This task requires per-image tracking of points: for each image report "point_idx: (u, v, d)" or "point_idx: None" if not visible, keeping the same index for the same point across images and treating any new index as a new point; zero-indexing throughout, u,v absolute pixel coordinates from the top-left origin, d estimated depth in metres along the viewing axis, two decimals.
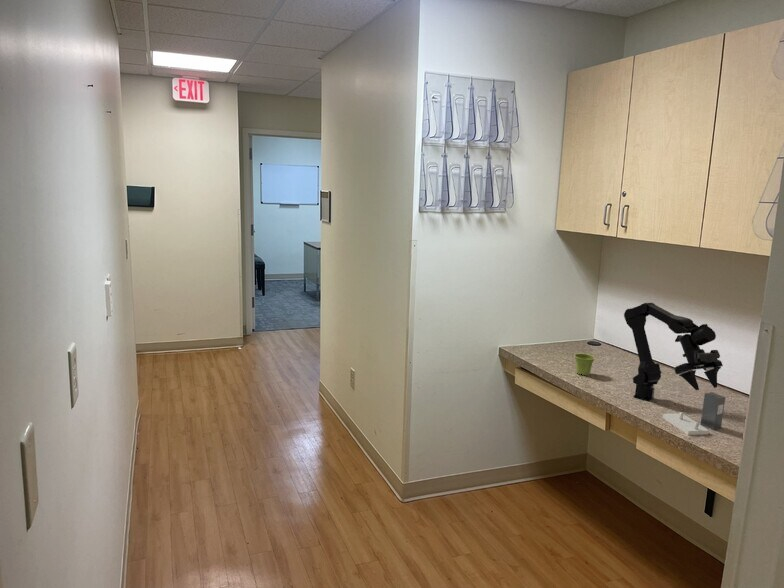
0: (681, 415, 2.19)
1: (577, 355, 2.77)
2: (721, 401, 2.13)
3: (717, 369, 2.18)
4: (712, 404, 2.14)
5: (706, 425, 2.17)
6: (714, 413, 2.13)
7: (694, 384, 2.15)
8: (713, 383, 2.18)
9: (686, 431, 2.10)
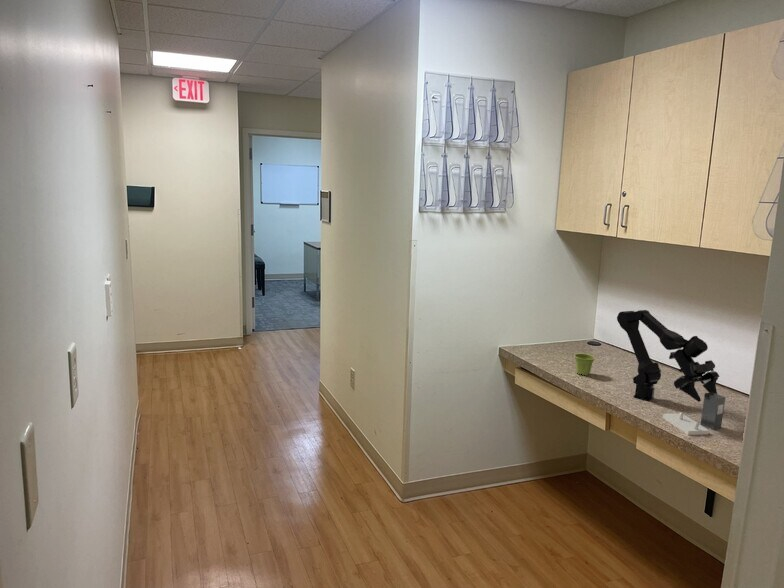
0: (681, 415, 2.19)
1: (577, 355, 2.77)
2: (721, 401, 2.13)
3: (715, 380, 2.21)
4: (712, 404, 2.14)
5: (706, 425, 2.17)
6: (714, 413, 2.13)
7: (695, 396, 2.16)
8: None
9: (686, 431, 2.10)
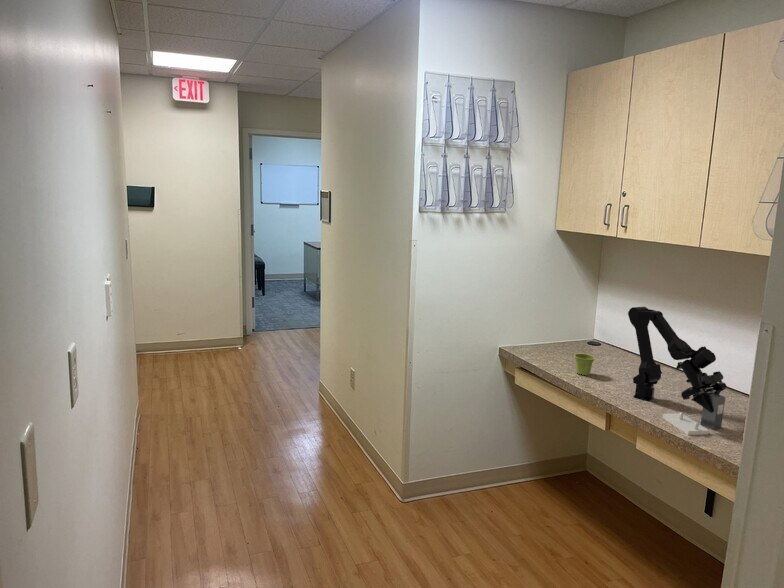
0: (681, 415, 2.19)
1: (577, 355, 2.77)
2: (721, 401, 2.13)
3: (718, 392, 2.17)
4: (713, 404, 2.14)
5: (706, 425, 2.17)
6: (714, 413, 2.13)
7: (708, 406, 2.14)
8: None
9: (686, 431, 2.10)
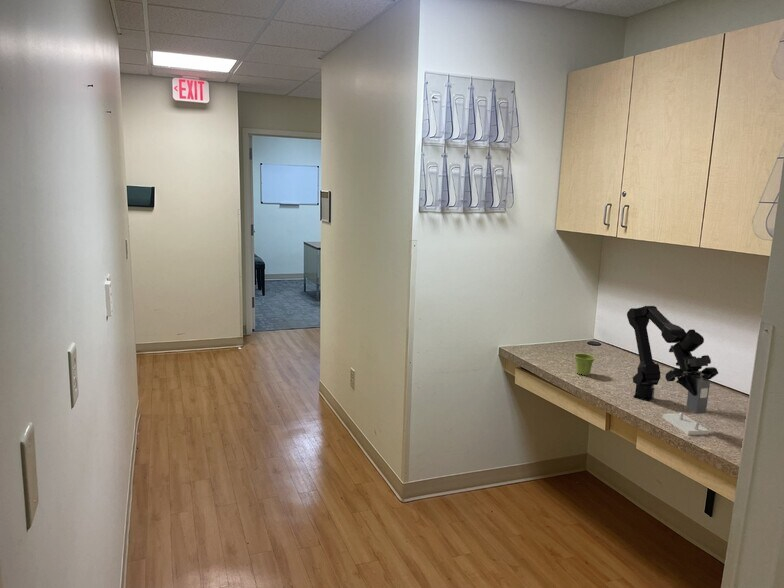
0: (681, 415, 2.19)
1: (577, 355, 2.77)
2: (705, 385, 2.10)
3: (706, 376, 2.14)
4: (696, 387, 2.11)
5: (690, 408, 2.14)
6: (697, 396, 2.11)
7: (691, 389, 2.12)
8: None
9: (686, 431, 2.10)
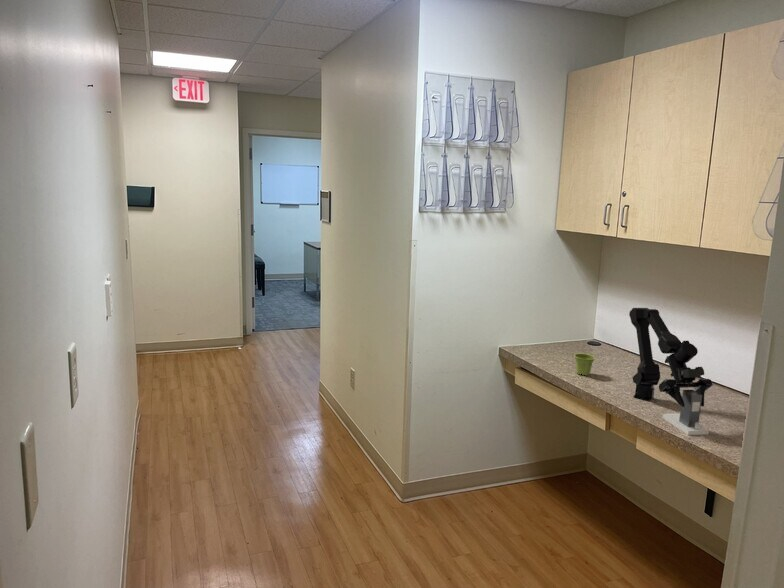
0: None
1: (577, 355, 2.77)
2: (697, 398, 2.11)
3: (704, 387, 2.15)
4: (688, 401, 2.12)
5: (683, 422, 2.15)
6: (689, 410, 2.12)
7: (679, 400, 2.13)
8: None
9: (686, 431, 2.10)
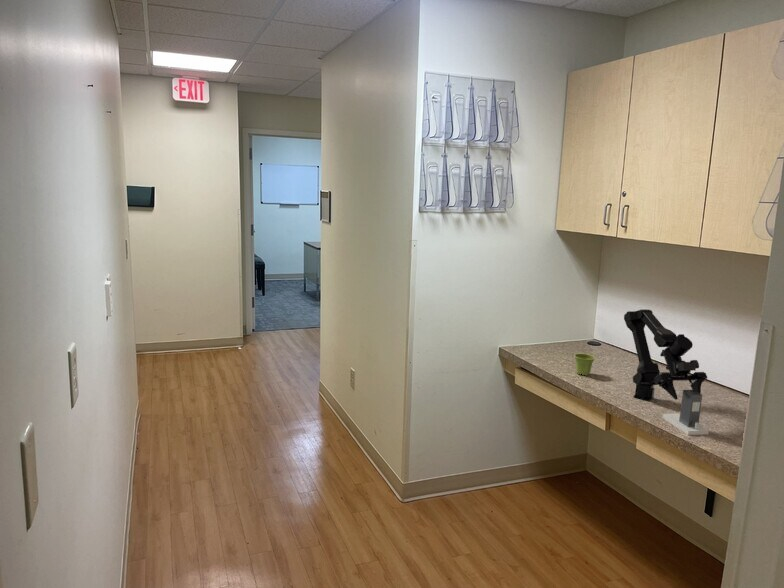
0: None
1: (577, 355, 2.77)
2: (697, 398, 2.11)
3: (700, 380, 2.18)
4: (688, 401, 2.12)
5: (683, 422, 2.15)
6: (689, 410, 2.12)
7: (673, 393, 2.16)
8: None
9: (686, 431, 2.10)
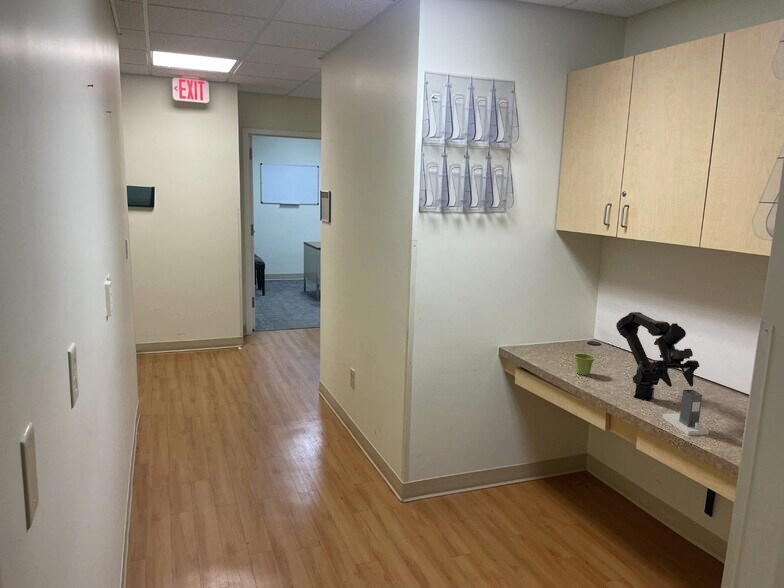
0: None
1: (577, 355, 2.77)
2: (697, 398, 2.11)
3: (693, 368, 2.23)
4: (688, 401, 2.12)
5: (683, 422, 2.15)
6: (689, 410, 2.12)
7: (667, 381, 2.21)
8: (689, 382, 2.23)
9: (686, 431, 2.10)
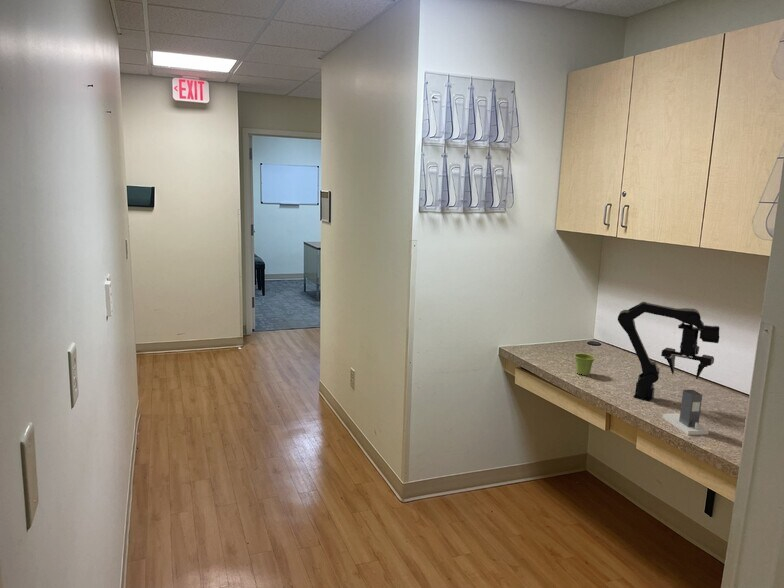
0: None
1: (577, 355, 2.77)
2: (697, 398, 2.11)
3: None
4: (688, 401, 2.12)
5: (683, 422, 2.15)
6: (689, 410, 2.12)
7: (699, 374, 2.34)
8: (673, 370, 2.40)
9: (686, 431, 2.10)
